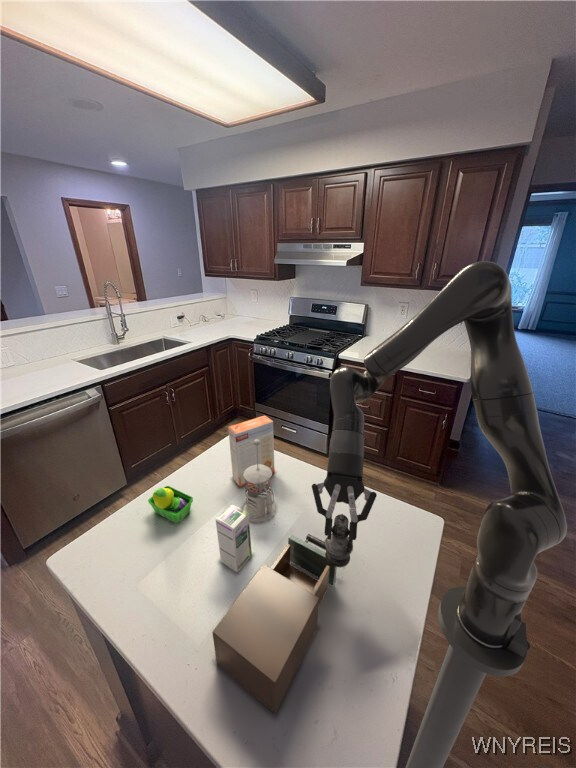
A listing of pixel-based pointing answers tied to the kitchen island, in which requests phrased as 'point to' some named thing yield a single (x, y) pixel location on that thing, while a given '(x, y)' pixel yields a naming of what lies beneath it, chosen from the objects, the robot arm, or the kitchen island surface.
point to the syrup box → (234, 537)
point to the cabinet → (266, 635)
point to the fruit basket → (171, 503)
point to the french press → (258, 492)
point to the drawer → (306, 565)
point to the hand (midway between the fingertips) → (339, 540)
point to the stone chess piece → (339, 543)
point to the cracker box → (251, 446)
